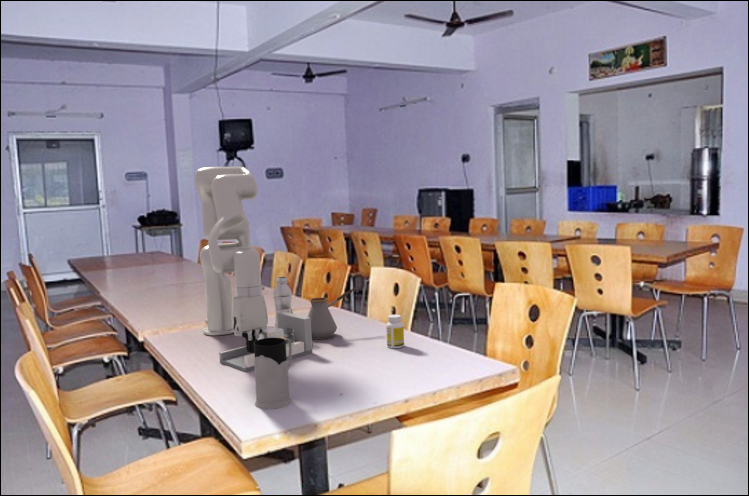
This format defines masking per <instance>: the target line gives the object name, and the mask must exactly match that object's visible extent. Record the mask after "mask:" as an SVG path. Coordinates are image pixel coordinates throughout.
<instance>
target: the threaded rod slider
mask: <svg viewBox="0 0 749 496" xmlns="http://www.w3.org/2000/svg"><path fill="white" fill-rule="evenodd" d="M281 337H283V338H288V339H290V338H293V337H294V331H293V332H290V333H286V334H284V330H283V329H281V328H277V327H275V326H272V325H267V329H266V330H264V331H262V332H261V334H260V335H259V338H258V339H257V340H260V339H264V338H281Z"/></svg>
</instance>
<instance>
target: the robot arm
mask: <svg viewBox="0 0 749 496" xmlns="http://www.w3.org/2000/svg"><path fill="white" fill-rule="evenodd" d="M194 185H195V188H196V191H197V193H198V196H199V198H200V201H201V211H202V212H201V214H202V215H201V217H202V219H201V220H202V233H203V235H204V238H205V239H206V241H208V242H207V245H205V246H203V247H202V248H201V250H200V252H199V262H200V266H201V269H202V270H201V271H202V274H203V284H204V298H205V311H206V319H205V320H204V323H205V324H207V325H206V327H204V328H203V329H202V331H203V334H204V335H206V336H223V335H231V334H234V336H236V337H242V338H243V339H244V340H245V346H246V349H247V352H249V353H252V354H253V353H254V342H255V341H257V339H258V338H259V335H260V334H261V332H262V331H264V330H266V329H267V326H268V322H269V320H268V319H269V318H268V309H267V303H266V298H265V295H264V294H263V290H265V285H263V284H262V277H261V263H260V262H261V260H260V258H261V257H260V252H259V251H258V250H256V247H252V246H251V234H250V223H249V219H248V217H247V215H246V213H245V210H244V205H243V204H244V203H243V201H247V200H249V201H250V200H251V201H252V200H254V199H256V198H257V196H258V194H259V193H258V189H259V188H258V183H257V179H256V178H255V176H254V175H253V174H252V173H251V172H250V170H249V169H247V168H246V167H244V166H207V167H201V168H198V169H197V170H196V171H195V173H194ZM221 241H223V243H219V242H221ZM224 241H235V242H231V243H229V242H228V243H224ZM231 273H233V274H234V288H235V297H234V295H233V292H234V291H233V283H232V279H230V277H229V276H228V275H226V274H231Z"/></svg>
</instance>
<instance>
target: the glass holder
mask: <svg viewBox="0 0 749 496" xmlns="http://www.w3.org/2000/svg"><path fill="white" fill-rule="evenodd" d="M286 340H288V343H289V357H288V360H287V357H286ZM254 354H255V359H254V367H255V369H254V378H255V379H254V380H255V383H254V384H255V394H256V396H255V401H254V406H255V407H256V408H258V409H260V410H261V409H262V410H276V409H280V408H284V407H286V406H289V405H290V404H291V403H292V401H293V400H292V398H291V397H290V396H291V395H290V383H289V382H290V381H289V369H290V367H291V361H292V359H291V355H292V345H291V341H290V339H288V338H285V339H283V338H264V339H260V340H257V341H255V342H254Z"/></svg>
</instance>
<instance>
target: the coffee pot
mask: <svg viewBox="0 0 749 496" xmlns="http://www.w3.org/2000/svg"><path fill="white" fill-rule="evenodd" d="M353 292H356V293H359V289H358V288H357V287H353V288H351V289H349V290H348V291H345V292H344V293H343V294H341V295H339V296H338V297H337V298H336V299H335V300H333V301H331V302H329V303H328V301H329V298H328V297H313V298H310V299H309V303H310V304H311V306H310V309H309V312H308V315H307V317H310V318H311V333H312V340H324V339H328V338H331V337H332V336H333V335H334V334H335V333H336V332H337V329H338V326H337V324H336V321H335V320H334V317H333V315H332V313H331V311H330V309H329V308H330V307H331V306H333V305H334V304H335V303H337V302H339V301H341V300H342V299H344V298H346V297H348V295H350V293H351V294H352V293H353Z"/></svg>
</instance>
